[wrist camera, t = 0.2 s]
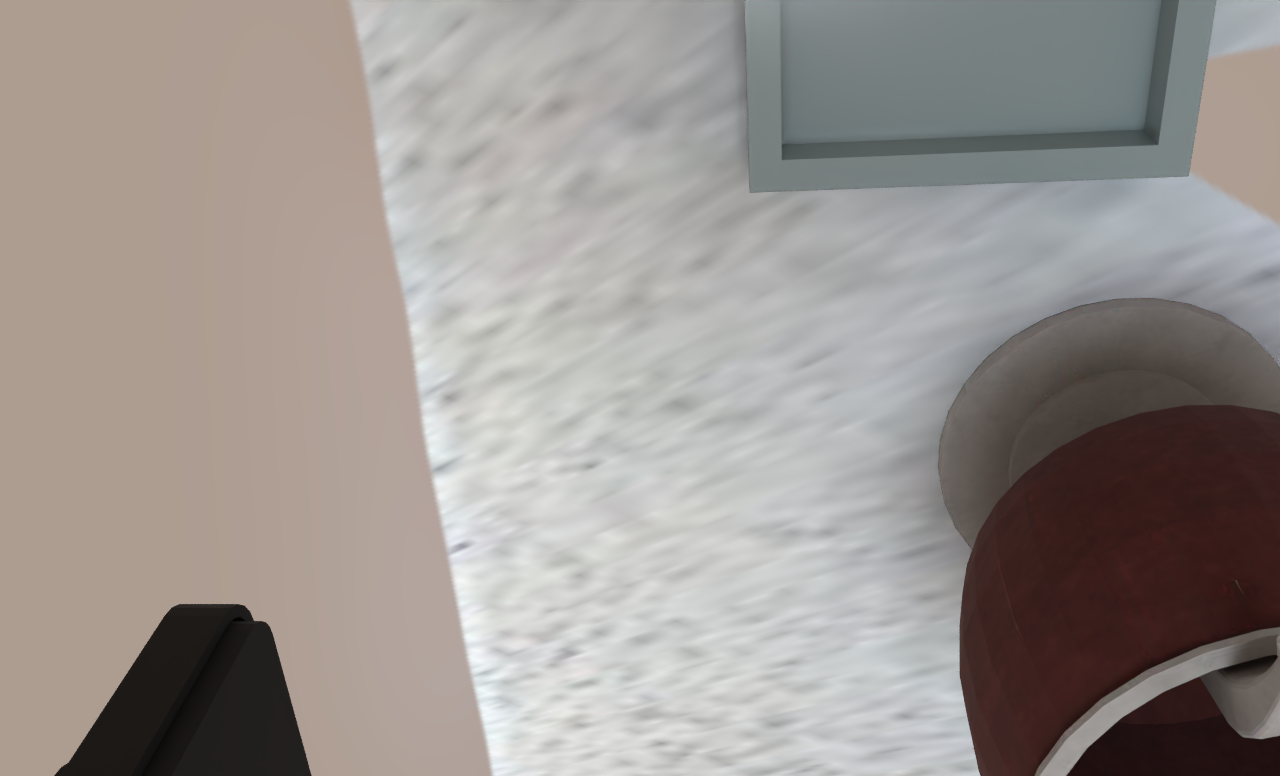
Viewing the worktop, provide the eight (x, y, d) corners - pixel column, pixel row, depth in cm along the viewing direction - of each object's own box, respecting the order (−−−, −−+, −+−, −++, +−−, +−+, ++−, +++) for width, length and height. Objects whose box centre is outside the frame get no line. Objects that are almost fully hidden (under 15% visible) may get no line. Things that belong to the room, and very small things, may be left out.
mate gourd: (1335, 555, 45) (1703, 1089, 27) (963, 636, 48) (1081, 1158, 31) (1289, 178, 38) (1737, 569, 21) (860, 301, 41) (937, 728, 24)
